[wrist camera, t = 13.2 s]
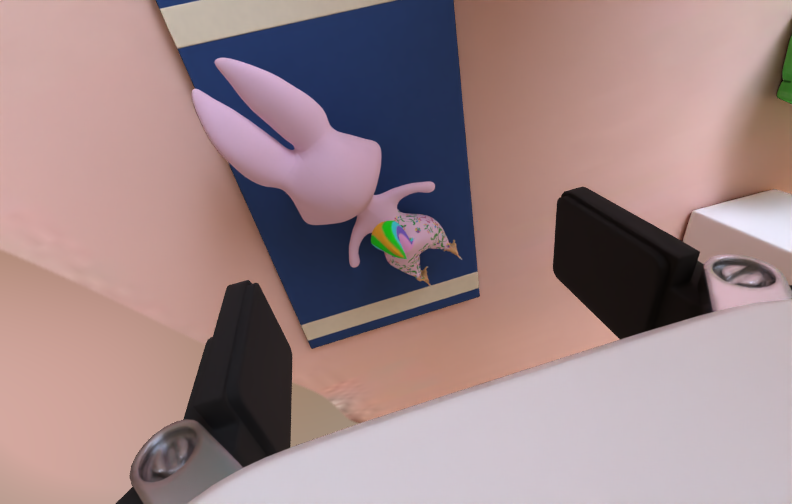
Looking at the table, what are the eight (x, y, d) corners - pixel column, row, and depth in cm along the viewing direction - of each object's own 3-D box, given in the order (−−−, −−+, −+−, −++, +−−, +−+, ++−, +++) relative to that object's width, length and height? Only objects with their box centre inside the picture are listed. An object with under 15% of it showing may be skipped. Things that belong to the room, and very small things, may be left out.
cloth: (151, -16, 14) (147, -17, 14) (443, -75, 15) (447, -77, 15) (311, 344, 25) (311, 349, 24) (477, 293, 26) (480, 297, 26)
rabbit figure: (460, 210, 23) (255, 1, 14) (515, 266, 19) (266, 14, 9) (392, 276, 25) (161, 126, 15) (427, 343, 20) (132, 188, 11)
